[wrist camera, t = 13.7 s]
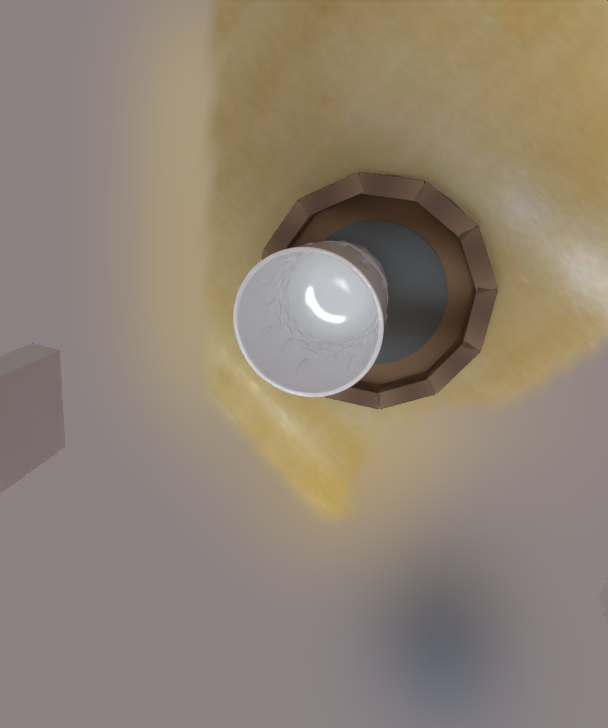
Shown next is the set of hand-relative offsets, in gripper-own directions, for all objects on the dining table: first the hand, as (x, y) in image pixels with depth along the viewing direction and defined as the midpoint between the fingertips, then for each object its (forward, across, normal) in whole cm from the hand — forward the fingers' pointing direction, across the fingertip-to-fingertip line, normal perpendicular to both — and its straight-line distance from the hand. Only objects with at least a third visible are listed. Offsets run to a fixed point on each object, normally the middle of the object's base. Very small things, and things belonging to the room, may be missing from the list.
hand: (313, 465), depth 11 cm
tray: (+25, -1, -2) cm, 25 cm away
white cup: (+24, -4, -2) cm, 24 cm away
